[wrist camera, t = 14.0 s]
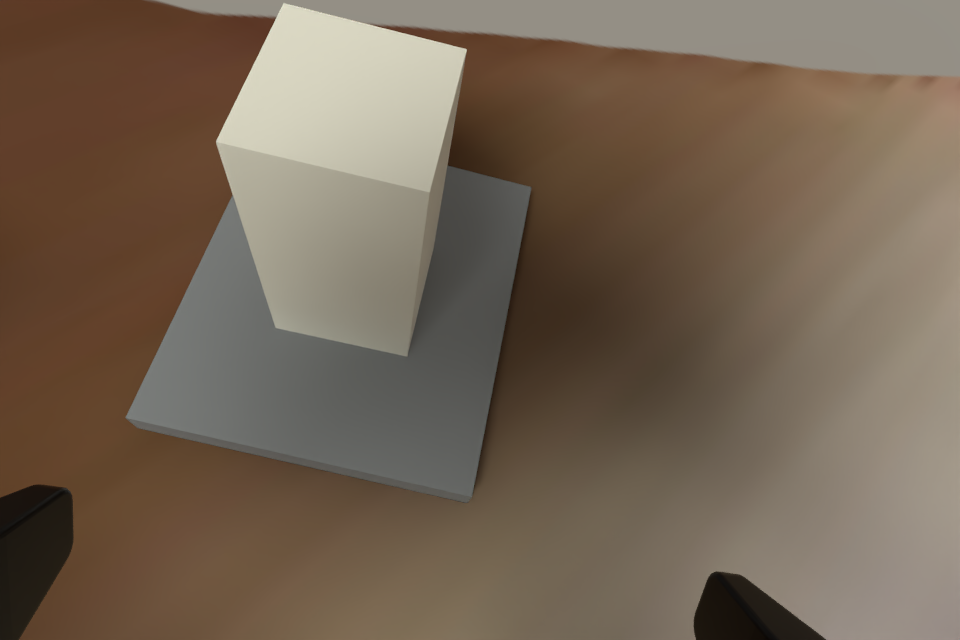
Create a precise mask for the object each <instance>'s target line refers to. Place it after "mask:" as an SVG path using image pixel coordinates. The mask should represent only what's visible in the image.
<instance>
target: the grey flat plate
mask: <svg viewBox="0 0 960 640" xmlns="http://www.w3.org/2000/svg"><path fill="white" fill-rule="evenodd" d="M530 193H531V187H529V186H525V185H521V184H517V183H513V182H509V181H505V180H502V179H498V178H494V177H490V176H486V175H482V174H478V173H474V172H471V171H467V170H463V169H459V168H455V167H451V166H447V171H446V177H445V183H444V189H443V195H442V201H441V207H440V213H439V219H438V225H437V231H436V237H435V243H434V249H433V253H432V257H431V261H430V265H429V269H428V273H427V277H426V282H425V286H424V290H423V294H422V298H421V302H420V306H419V310H418V315H417V319H416V323H415V327H414V331H413V335H412V339H411V343H410V347H409V352H408V356H407V357H406V356H402V355H397V354H393V353H388V352H383V351H379V350H374V349H370V348H365V347H361V346H356V345H351V344H347V343H342V342H338V341H333V340H328V339H324V338H319V337H315V336H310V335H305V334H301V333H296V332H292V331H287V330H283V329H278V328H275V325H274V322H273V318H272V315H271V312H270V309H269V306H268V303H267V300H266V297H265V293H264V290H263V287H262V284H261V281H260V278H259V275H258V272H257V268H256V265H255V262H254V259H253V256H252V253H251V250H250V247H249V244H248V240H247V237H246V234H245V231H244V228H243V225H242V222H241V219H240V215H239V212H238V209H237V206H236V203H235V200H234V197H233V195H232V197H231V200H230V202H229V204H228V206H227V208H226V210H225V212H224V214H223V216H222V218H221V220H220V222H219V225H218V227H217V229H216V231H215V233H214V235H213V237H212V239H211V241H210V243H209V245H208V247H207V249H206V252H205V254H204V256H203V258H202V260H201V262H200V264H199V266H198V268H197V270H196V272H195V274H194V277H193V279H192V281H191V283H190V285H189V287H188V289H187V291H186V293H185V295H184V297H183V299H182V302H181V304H180V306H179V308H178V310H177V312H176V314H175V316H174V318H173V320H172V322H171V324H170V327H169V329H168V331H167V333H166V335H165V337H164V339H163V341H162V343H161V345H160V347H159V349H158V351H157V354H156V356H155V358H154V360H153V362H152V364H151V366H150V368H149V370H148V372H147V374H146V376H145V379H144V381H143V383H142V385H141V387H140V389H139V391H138V393H137V395H136V397H135V399H134V401H133V404H132V406H131V408H130V410H129V412H128V414H127V416H126V419H127V420H129V421H130V422H131V423H132V424H133V425H135V426H136V427H137V428H140V429H144V430H149V431H153V432H157V433H162V434H166V435H171V436H175V437H179V438H184V439H188V440H192V441H197V442H201V443H206V444H210V445H214V446H219V447H223V448H228V449H232V450H236V451H241V452H245V453H250V454H254V455H258V456H263V457H267V458H271V459H276V460H280V461H285V462H289V463H293V464H298V465H302V466H307V467H311V468H315V469H320V470H324V471H328V472H333V473H337V474H342V475H346V476H350V477H355V478H359V479H364V480H368V481H372V482H377V483H381V484H386V485H390V486H394V487H399V488H403V489H407V490H412V491H416V492H421V493H425V494H429V495H434V496H438V497H443V498H447V499H451V500H456V501H460V502H465V503H468V501H469V500H470V499H471V498H472V494H473V489H474V484H475V478H476V473H477V468H478V463H479V458H480V452H481V447H482V442H483V437H484V432H485V426H486V421H487V416H488V411H489V406H490V400H491V395H492V390H493V385H494V380H495V374H496V369H497V364H498V359H499V354H500V349H501V343H502V338H503V333H504V328H505V323H506V317H507V312H508V307H509V302H510V297H511V291H512V286H513V281H514V276H515V271H516V265H517V260H518V255H519V250H520V245H521V239H522V234H523V229H524V224H525V219H526V213H527V208H528V203H529V198H530Z"/></svg>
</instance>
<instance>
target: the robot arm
mask: <svg viewBox="0 0 960 640" xmlns="http://www.w3.org/2000/svg"><path fill="white" fill-rule="evenodd" d="M72 545H73V499H72V494H71V492H70V491H69V490H68V489H66V488H63V487H56V486H48V485H33V486H30V487H27V488H25V489H22V490H19V491H17V492H14V493H12V494H9V495H6V496H4V497H1V498H0V640H19V639H20V637H21V635H22V634H23V632H24V630H25V629H26V627H27V625H28V624H29V622H30V620H31V619H32V617H33V615H34V614H35V612H36V610H37V609H38V607H39V605H40V604H41V602H42V600H43V599H44V597H45V595H46V594H47V592H48V590H49V589H50V587H51V585H52V584H53V582H54V580H55V579H56V577H57V575H58V574H59V572H60V570H61V569H62V567H63V565H64V564H65V562H66V560H67V558H68V557H69V554H70V552H71V549H72ZM694 633H695V637H696V640H826V639H825V638H823V637H822V636H821V635H819V634H818V633H817V632H815V631H814V630H813V629H812V628H810V627H809V626H808V625H806V624H805V623H804V622H802V621H801V620H800V619H798V618H797V617H796V616H794V615H793V614H792V613H791V612H789V611H788V610H787V609H785V608H784V607H783V606H781V605H780V604H779V603H777V602H776V601H775V600H773V599H772V598H771V597H770V596H768V595H767V594H766V593H764V592H763V591H762V590H760V589H759V588H758V587H756V586H755V585H754V584H752V583H751V582H750V581H749V580H747V579H746V578H745V577H743V576H741V575H739V574H733V573H725V572H714V573H712V574H711V575H710V576H709V578H708V580H707V582H706V585H705V588H704V590H703V593H702V596H701V599H700V601H699V604H698V607H697V610H696V612H695V616H694Z"/></svg>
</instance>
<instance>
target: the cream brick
mask: <svg viewBox="0 0 960 640" xmlns="http://www.w3.org/2000/svg"><path fill="white" fill-rule="evenodd" d="M466 51H467V49H463V48H459V47H455V46H451V45H448V44H444V43H440V42H436V41H432V40H428V39H424V38H420V37H416V36H412V35H408V34H404V33H400V32H396V31H392V30H388V29H384V28H380V27H376V26H372V25H368V24H364V23H360V22H356V21H352V20H349V19H344V18H341V17H336V16H333V15H329V14H325V13H321V12H316V11H313V10H309V9H305V8H301V7H297V6H293V5H289V4H285V3H284V4H283V6H282V8H281V10H280V12H279V14H278V16H277V18H276V20H275V22H274V24H273V26H272V28H271V30H270V32H269V34H268V36H267V38H266V41H265V43H264V45H263V47H262V49H261V51H260V53H259V55H258V57H257V59H256V61H255V63H254V65H253V67H252V69H251V71H250V73H249V75H248V77H247V79H246V81H245V83H244V86H243V88H242V90H241V92H240V94H239V96H238V98H237V100H236V102H235V104H234V106H233V108H232V110H231V112H230V114H229V116H228V118H227V120H226V122H225V124H224V126H223V128H222V130H221V133H220V135H219V137H218V139H217V141H216V144H217V147H218V150H219V153H220V156H221V159H222V162H223V166H224V169H225V172H226V175H227V178H228V181H229V184H230V187H231V191H232V194H233V197H234V200H235V203H236V206H237V209H238V212H239V215H240V219H241V222H242V225H243V228H244V231H245V234H246V237H247V240H248V244H249V247H250V250H251V253H252V256H253V259H254V262H255V265H256V268H257V272H258V275H259V278H260V281H261V284H262V287H263V290H264V293H265V297H266V300H267V303H268V306H269V309H270V312H271V315H272V318H273V322H274V325H275V328H278V329H283V330H287V331H292V332H296V333H301V334H305V335H310V336H315V337H319V338H324V339H328V340H333V341H338V342H342V343H347V344H351V345H356V346H361V347H365V348H370V349H374V350H379V351H383V352H388V353H393V354H397V355H402V356H406V357H407V356H408V352H409V347H410V343H411V339H412V335H413V331H414V327H415V323H416V319H417V315H418V310H419V306H420V302H421V298H422V294H423V290H424V286H425V282H426V277H427V273H428V269H429V265H430V261H431V257H432V253H433V249H434V243H435V237H436V231H437V225H438V219H439V213H440V207H441V201H442V195H443V189H444V183H445V177H446V171H447V165H448V159H449V153H450V147H451V141H452V135H453V129H454V123H455V117H456V111H457V105H458V99H459V93H460V87H461V81H462V75H463V69H464V63H465V57H466Z"/></svg>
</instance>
